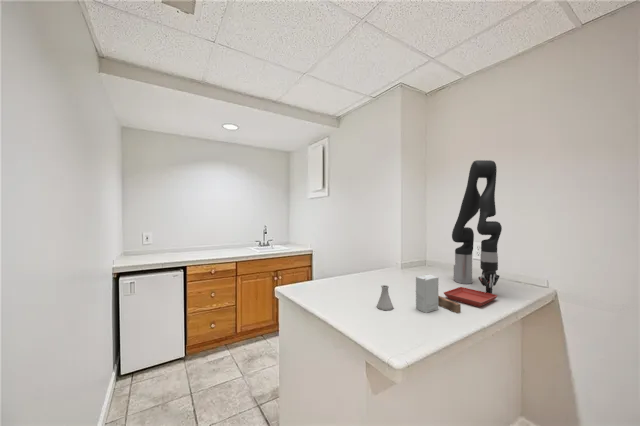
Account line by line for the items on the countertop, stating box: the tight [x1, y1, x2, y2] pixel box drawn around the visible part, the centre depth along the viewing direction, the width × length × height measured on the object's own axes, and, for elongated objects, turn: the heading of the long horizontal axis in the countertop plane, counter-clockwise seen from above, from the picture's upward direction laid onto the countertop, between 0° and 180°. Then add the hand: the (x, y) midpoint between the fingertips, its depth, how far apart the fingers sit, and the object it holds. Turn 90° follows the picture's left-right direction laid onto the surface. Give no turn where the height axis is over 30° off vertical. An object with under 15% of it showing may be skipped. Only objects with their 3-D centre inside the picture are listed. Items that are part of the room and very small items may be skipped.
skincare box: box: [415, 274, 439, 314], centre depth 120 cm, size 8×6×15 cm
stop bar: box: [438, 295, 462, 314], centre depth 125 cm, size 20×2×4 cm, turn 22°
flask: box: [375, 284, 394, 311], centre depth 122 cm, size 7×7×10 cm
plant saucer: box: [443, 286, 498, 308], centre depth 132 cm, size 18×18×3 cm
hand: (488, 294), depth 137 cm, fingers closed
